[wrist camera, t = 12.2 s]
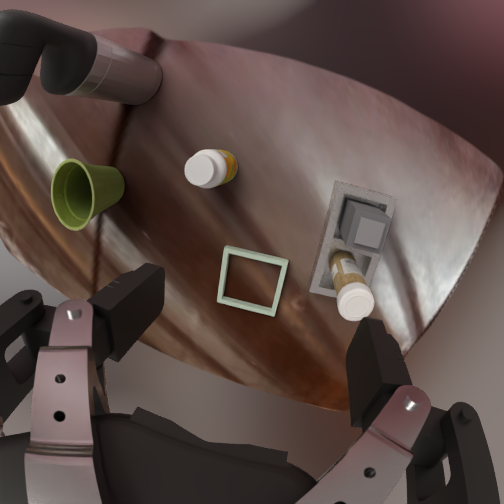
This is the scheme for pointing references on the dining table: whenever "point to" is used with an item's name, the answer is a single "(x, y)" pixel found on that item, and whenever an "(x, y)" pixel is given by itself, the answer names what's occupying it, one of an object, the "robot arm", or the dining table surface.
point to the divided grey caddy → (334, 241)
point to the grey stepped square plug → (363, 226)
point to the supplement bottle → (211, 168)
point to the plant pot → (84, 191)
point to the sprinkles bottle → (350, 287)
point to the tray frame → (256, 256)
